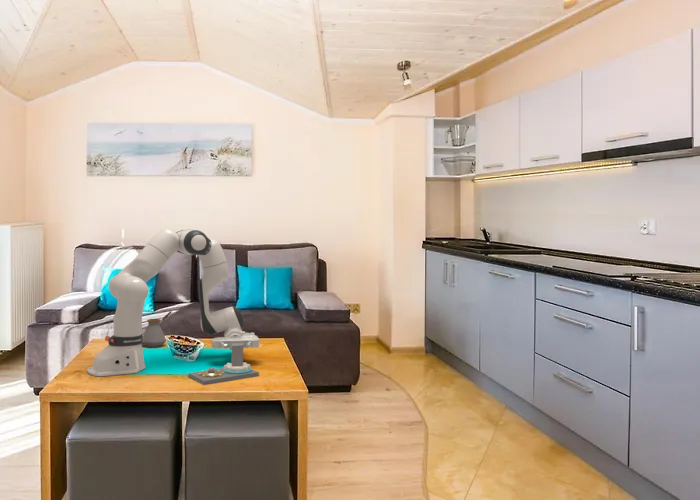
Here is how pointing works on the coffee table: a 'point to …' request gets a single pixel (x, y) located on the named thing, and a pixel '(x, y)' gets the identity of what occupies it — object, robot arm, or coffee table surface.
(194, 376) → the gear board
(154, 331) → the coffee pot
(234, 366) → the loose gear
